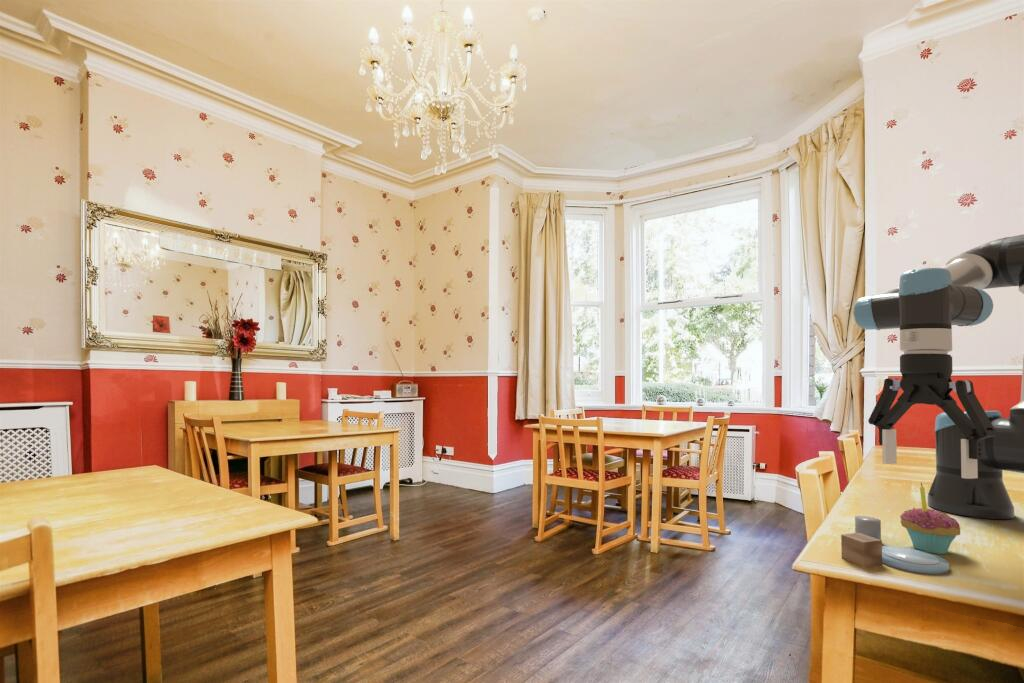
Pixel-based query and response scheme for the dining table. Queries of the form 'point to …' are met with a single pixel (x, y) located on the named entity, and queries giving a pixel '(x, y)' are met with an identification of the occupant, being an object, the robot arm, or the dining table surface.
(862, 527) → the grey cylinder
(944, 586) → the dining table surface
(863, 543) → the walnut block
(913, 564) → the saucer
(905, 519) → the cupcake
